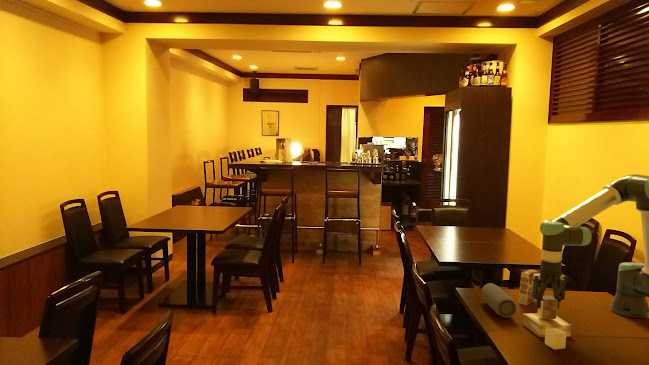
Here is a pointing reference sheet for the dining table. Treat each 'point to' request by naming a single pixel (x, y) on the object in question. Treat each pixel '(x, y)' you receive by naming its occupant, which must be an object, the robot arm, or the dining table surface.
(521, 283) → the candy box
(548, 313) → the walnut block
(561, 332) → the stoneware cube
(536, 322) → the beech block
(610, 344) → the dining table surface
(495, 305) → the bluetooth speaker
